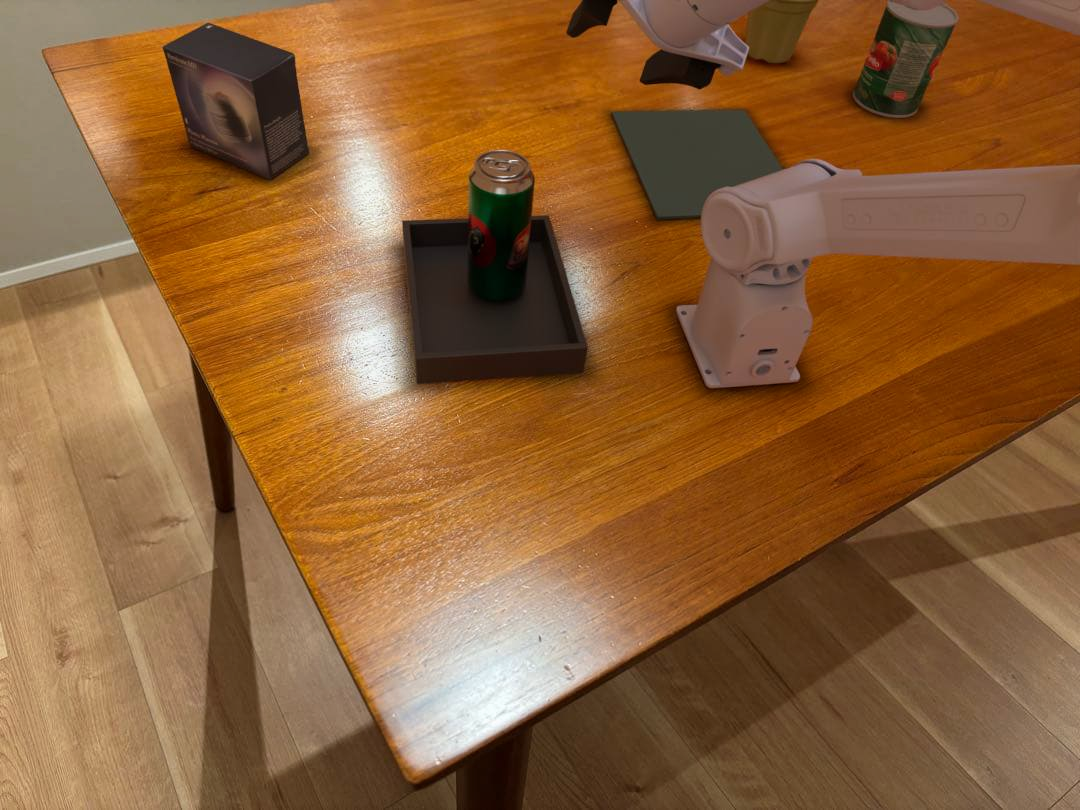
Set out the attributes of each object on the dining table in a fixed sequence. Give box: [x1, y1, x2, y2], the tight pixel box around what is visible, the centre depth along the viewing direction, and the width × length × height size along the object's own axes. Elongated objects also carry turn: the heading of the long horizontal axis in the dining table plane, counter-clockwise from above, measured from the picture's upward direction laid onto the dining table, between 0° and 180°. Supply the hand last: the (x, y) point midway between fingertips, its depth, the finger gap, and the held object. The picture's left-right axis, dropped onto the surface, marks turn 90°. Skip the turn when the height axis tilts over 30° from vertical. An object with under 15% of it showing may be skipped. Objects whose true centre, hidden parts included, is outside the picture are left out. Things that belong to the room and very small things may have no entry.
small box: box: [161, 22, 310, 181], centre depth 78 cm, size 11×6×10 cm, turn 62°
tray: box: [401, 214, 589, 385], centre depth 69 cm, size 17×13×3 cm
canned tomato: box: [852, 0, 959, 119], centre depth 96 cm, size 8×8×11 cm
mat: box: [610, 109, 784, 221], centre depth 87 cm, size 20×16×1 cm
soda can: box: [467, 149, 536, 302], centre depth 66 cm, size 5×5×12 cm
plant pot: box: [744, 0, 819, 64], centre depth 103 cm, size 9×9×9 cm
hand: (610, 49), depth 69 cm, fingers open, 7 cm apart
